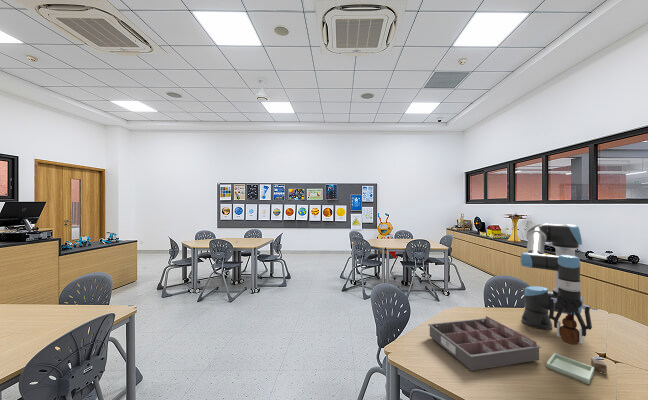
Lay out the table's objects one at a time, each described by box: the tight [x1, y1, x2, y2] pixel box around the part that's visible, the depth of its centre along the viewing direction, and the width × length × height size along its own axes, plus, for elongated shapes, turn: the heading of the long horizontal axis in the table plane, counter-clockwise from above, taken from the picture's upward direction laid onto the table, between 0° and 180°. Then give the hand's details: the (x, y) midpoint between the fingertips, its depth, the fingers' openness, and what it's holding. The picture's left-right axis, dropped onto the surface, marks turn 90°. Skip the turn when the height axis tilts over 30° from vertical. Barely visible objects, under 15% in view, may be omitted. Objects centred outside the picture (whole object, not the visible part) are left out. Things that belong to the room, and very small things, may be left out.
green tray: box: [545, 352, 595, 385], centre depth 117 cm, size 14×14×2 cm
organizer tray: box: [427, 315, 542, 371], centre depth 134 cm, size 32×40×10 cm
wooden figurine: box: [559, 311, 580, 346], centre depth 118 cm, size 7×6×15 cm
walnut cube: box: [590, 358, 608, 375], centre depth 117 cm, size 4×4×4 cm
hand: (569, 338), depth 118 cm, fingers closed on wooden figurine, 7 cm apart
